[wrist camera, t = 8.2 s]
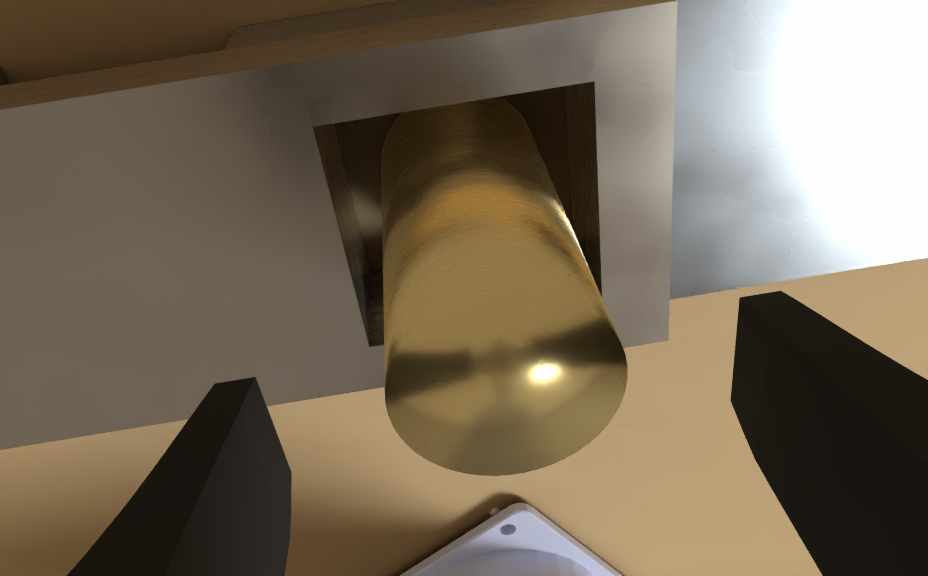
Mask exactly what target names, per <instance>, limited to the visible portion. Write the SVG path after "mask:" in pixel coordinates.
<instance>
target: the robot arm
mask: <svg viewBox="0 0 928 576" xmlns="http://www.w3.org/2000/svg"><path fill="white" fill-rule="evenodd" d="M731 402H732V405H733V407H734V410H735V412H736V415H737V417H738V420H739V422H740V425H741V427H742V430H743V432H744V435H745V437H746V439H747V442H748V444H749V446H750V449H751V451H752V453H753V455H754V458H755V460H756V462H757V463H758V465H759V467H760V469H761V471H762V472H763V474H764V476H765V478H766V479H767V481H768V483H769V485H770V486H771V488H772V490H773V491H774V493H775V495H776V497H777V498H778V500H779V502H780V504H781V505H782V507H783V509H784V510H785V512H786V514H787V516H788V517H789V519H790V521H791V522H792V524H793V526H794V527H795V529H796V531H797V533H798V534H799V536H800V538H801V539H802V541H803V543H804V545H805V546H806V548H807V550H808V551H809V553H810V555H811V556H812V558H813V560H814V562H815V563H816V565H817V567H818V568H819V570H820V572H821V573H822V575H823V576H928V380H927V379H925V378H923V377H921V376H920V375H918V374H916V373H914V372H913V371H911V370H909V369H908V368H906V367H904V366H902V365H901V364H899V363H897V362H896V361H894V360H892V359H891V358H889V357H887V356H886V355H884V354H882V353H881V352H879V351H877V350H876V349H874V348H873V347H871V346H869V345H868V344H866V343H864V342H863V341H861V340H860V339H858V338H856V337H855V336H853V335H852V334H850V333H848V332H847V331H845V330H844V329H842V328H840V327H839V326H837V325H836V324H834V323H832V322H831V321H829V320H828V319H826V318H824V317H823V316H821V315H820V314H818V313H816V312H815V311H813V310H812V309H810V308H809V307H807V306H805V305H804V304H802V303H800V302H799V301H797V300H795V299H794V298H792V297H790V296H789V295H787V294H785V293H783V292H782V291H777V292H771V293H765V294H759V295H753V296H747V297H740V300H739V311H738V323H737V334H736V346H735V357H734V368H733V380H732V391H731ZM290 523H291V470H290V467H289V465H288V462H287V459H286V457H285V454H284V451H283V449H282V446H281V443H280V441H279V438H278V435H277V433H276V430H275V427H274V425H273V422H272V419H271V417H270V414H269V411H268V409H267V406H266V403H265V401H264V398H263V395H262V393H261V390H260V387H259V385H258V382H257V379H256V377H251V378H245V379H239V380H233V381H227V382H221V383H215V384H214V385H213V386H212V388H211V389H210V391H209V392H208V393H207V395H206V396H205V397H204V399H203V400H202V401H201V403H200V404H199V405H198V407H197V408H196V410H195V411H194V412H193V414H192V415H191V417H190V418H189V419H188V421H187V422H186V424H185V425H184V427H183V428H182V429H181V431H180V432H179V434H178V435H177V436H176V438H175V439H174V441H173V442H172V443H171V445H170V446H169V448H168V449H167V450H166V452H165V453H164V455H163V456H162V457H161V459H160V460H159V462H158V463H157V464H156V466H155V467H154V468H153V470H152V471H151V472H150V474H149V475H148V476H147V478H146V479H145V480H144V482H143V483H142V484H141V486H140V487H139V488H138V490H137V491H136V492H135V494H134V495H133V496H132V498H131V499H130V500H129V502H128V503H127V504H126V506H125V507H124V508H123V509H122V510H121V512H120V513H119V514H118V515H117V517H116V518H115V519H114V520H113V522H112V523H111V524H110V525H109V526H108V528H107V529H106V530H105V531H104V533H103V534H102V535H101V536H100V538H99V539H98V540H97V541H96V542H95V544H94V545H93V546H92V547H91V549H90V550H89V551H88V552H87V553H86V555H85V556H84V557H83V558H82V559H81V560H80V561H79V563H78V564H77V565H76V566H75V567H74V568H73V569H72V570H71V572H70V573H69V574H68V575H67V576H284V575H285V568H286V561H287V555H288V547H289V540H290ZM507 524H509V525H507ZM400 576H622V575H621V574H620V573H618V572H617V571H616V570H614V569H613V568H612V567H611V566H609V565H608V564H607V563H605V562H604V561H603V560H601V559H600V558H599V557H597V556H596V555H595V554H593V553H592V552H591V551H589V550H588V549H587V548H586V547H584V546H583V545H582V544H580V543H579V542H578V541H576V540H575V539H574V538H572V537H571V536H570V535H568V534H567V533H566V532H564V531H563V530H562V529H561V528H559V527H558V526H557V525H555V524H554V523H553V522H551V521H550V520H549V519H547V518H546V517H545V516H543V515H542V514H541V513H540V512H538V511H537V510H536V509H534V508H533V507H532V506H530V505H528V504H526V503H515V504H512V505H510V506H508V507H507V508H505V509H504V510H502V511H500V512H499V513H497V514H496V515H494V516H493V517H491V518H489V519H488V520H486V521H485V522H483V523H482V524H480V525H478V526H477V527H475V528H474V529H472V530H471V531H469V532H467V533H466V534H464V535H463V536H461V537H460V538H458V539H456V540H455V541H453V542H452V543H450V544H448V545H447V546H445V547H444V548H442V549H441V550H439V551H437V552H436V553H434V554H433V555H431V556H430V557H428V558H426V559H425V560H423V561H422V562H420V563H419V564H417V565H415V566H414V567H412V568H411V569H409V570H408V571H406V572H404V573H403V574H401V575H400Z"/></svg>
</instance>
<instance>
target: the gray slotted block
mask: <svg viewBox="0 0 928 576" xmlns="http://www.w3.org/2000/svg"><path fill="white" fill-rule="evenodd" d="M562 86H565V101H566V119H567V136H568V153H569V171H570V188H571V205H572V223H573V231H574V234H575V236H576V239H577V241H578V243H579V246H580V248H581V250H582V253H583V255H584V257H585V260H586V262H587V264H588V267H589V269H590V271H591V274H592V276H593V278H594V281H595V283H596V285H597V288H598V290H599V292H600V295H601V297H602V299H603V302H604V304H605V307H606V309H607V311H608V314H609V316H610V318H611V321H612V323H613V325H614V328H615V330H616V332H617V335H618V337H619V339H620V342H621V344H622V347H623V348H625V347H631V346H637V345H643V344H650V343H656V342H662V341H668V337H669V300H670V299H676V298H682V297H688V296H694V295H700V294H707V293H713V292H719V291H725V290H731V289H737V288H743V287H749V286H756V285H762V284H768V283H774V282H780V281H786V280H792V279H798V278H804V277H811V276H817V275H823V274H829V273H835V272H841V271H847V270H853V269H860V268H866V267H872V266H878V265H884V264H890V263H896V262H902V261H909V260H915V259H921V258H927V257H928V0H403V1H397V2H391V3H385V4H378V5H372V6H366V7H360V8H354V9H347V10H341V11H335V12H329V13H323V14H316V15H310V16H304V17H298V18H291V19H285V20H279V21H273V22H267V23H260V24H254V25H248V26H242V27H236V28H235V30H234V32H233V34H232V36H231V37H230V39H229V41H228V43H227V45H226V47H225V49H224V50H219V51H213V52H206V53H200V54H194V55H188V56H182V57H175V58H169V59H163V60H157V61H150V62H144V63H138V64H132V65H126V66H119V67H113V68H107V69H101V70H95V71H88V72H82V73H76V74H70V75H63V76H57V77H51V78H45V79H39V80H32V81H26V82H20V83H14V84H8V83H7V81H6V79H5V77H4V75H3V73H2V71H1V69H0V450H2V449H8V448H14V447H20V446H26V445H32V444H38V443H45V442H51V441H57V440H63V439H69V438H75V437H81V436H87V435H93V434H100V433H106V432H112V431H118V430H124V429H130V428H136V427H142V426H148V425H155V424H161V423H167V422H173V421H179V420H185V419H189V418H190V417H191V415H192V414H193V412H194V411H195V410H196V408H197V407H198V405H199V404H200V403H201V401H202V400H203V399H204V397H205V396H206V395H207V393H208V392H209V391H210V389H211V388H212V386H213V385H214V384H215V383H221V382H227V381H233V380H239V379H245V378H251V377H256V379H257V382H258V385H259V387H260V390H261V393H262V395H263V398H264V401H265V403H266V406H271V405H277V404H283V403H289V402H295V401H301V400H307V399H313V398H320V397H326V396H332V395H338V394H344V393H350V392H356V391H362V390H368V389H375V388H381V387H385V363H384V300H383V271H381V272H375V273H370V271H369V267H368V263H367V258H366V254H365V250H364V246H363V242H362V238H361V234H360V229H359V225H358V221H357V217H356V213H355V209H354V204H353V200H352V196H351V192H350V188H349V184H348V180H347V175H346V171H345V167H344V163H343V159H342V155H341V150H340V146H339V142H338V138H337V134H336V130H335V126H334V123H339V122H346V121H352V120H358V119H364V118H370V117H377V116H383V115H389V114H395V113H401V112H407V111H414V110H420V109H426V108H432V107H438V106H445V105H451V104H457V103H463V102H469V101H476V100H482V99H488V98H494V97H500V96H506V95H513V94H519V93H525V92H531V91H537V90H544V89H550V88H556V87H562Z"/></svg>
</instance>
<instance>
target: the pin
mask: <svg viewBox="0 0 928 576" xmlns="http://www.w3.org/2000/svg"><path fill="white" fill-rule="evenodd" d="M381 175H382V238H383V300H384V363H385V401H386V407H387V411H388V415H389V418H390V420H391V422H392V425H393V427H394V428H395V430H396V431H397V433H398V435H399V436H400V437H401V438H402V440H403V441H404V442H405V443H406V444H407V445H408V446H409V447H410V448H411V449H413V450H414V451H415V452H416V453H417V454H419V455H420V456H422V457H424V458H425V459H427V460H428V461H431V462H433V463H435V464H437V465H439V466H441V467H444V468H447V469H450V470H453V471H458V472H462V473H466V474H474V475H487V476H499V475H512V474H518V473H524V472H528V471H532V470H536V469H540V468H543V467H546V466H549V465H551V464H554V463H556V462H558V461H560V460H563V459H565V458H567V457H568V456H570V455H572V454H574V453H575V452H577V451H579V450H580V449H581V448H583V447H584V446H586V445H587V444H588V443H590V442H591V441H592V440H593V439H594V438H595V437H596V436H598V435H599V434H600V433H601V431H602V430H603V429H604V428H605V427H606V426H607V425H608V423H609V422H610V421H611V419H612V418H613V416H614V415H615V413H616V411H617V410H618V408H619V406H620V404H621V401H622V399H623V396H624V393H625V389H626V383H627V362H626V356H625V352H624V350H623V347H622V344H621V342H620V339H619V337H618V335H617V332H616V330H615V328H614V325H613V323H612V321H611V318H610V316H609V314H608V311H607V309H606V307H605V304H604V302H603V299H602V297H601V295H600V292H599V290H598V288H597V285H596V283H595V281H594V278H593V276H592V274H591V271H590V269H589V267H588V264H587V262H586V260H585V257H584V255H583V253H582V250H581V248H580V246H579V243H578V241H577V239H576V236H575V234H574V231H573V229H572V227H571V224H570V222H569V220H568V217H567V215H566V213H565V210H564V208H563V206H562V203H561V201H560V199H559V196H558V194H557V192H556V189H555V187H554V185H553V182H552V180H551V178H550V175H549V173H548V171H547V168H546V166H545V164H544V161H543V159H542V156H541V154H540V152H539V149H538V147H537V145H536V142H535V140H534V138H533V135H532V133H531V131H530V128H529V126H528V125H527V123H526V121H525V119H524V118H523V117H522V115H521V114H520V113H519V111H518V110H517V109H516V108H515V107H514V106H513V105H511V104H510V103H509V102H507V101H506V100H505V99H503V98H501V97H494V98H488V99H482V100H476V101H469V102H463V103H457V104H451V105H445V106H438V107H432V108H426V109H420V110H414V111H407V112H401V113H400V114H399V115H398V116H397V118H396V119H395V120H394V122H393V123H392V125H391V127H390V129H389V130H388V132H387V135H386V138H385V140H384V144H383V148H382V157H381Z"/></svg>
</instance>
